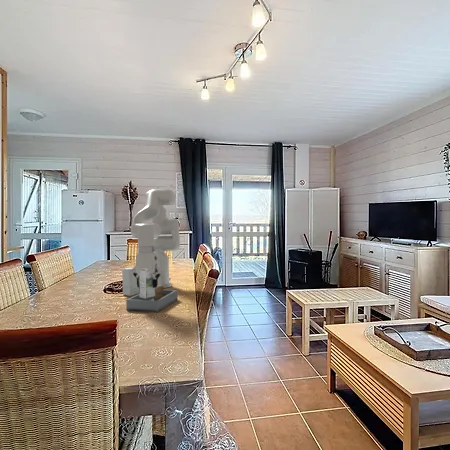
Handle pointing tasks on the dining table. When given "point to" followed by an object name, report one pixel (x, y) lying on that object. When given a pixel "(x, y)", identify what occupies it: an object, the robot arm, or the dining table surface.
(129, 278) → the skincare box
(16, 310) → the dining table surface
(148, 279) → the syrup box
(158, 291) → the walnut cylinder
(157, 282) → the robot arm
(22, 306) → the dining table surface
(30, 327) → the dining table surface
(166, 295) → the tray
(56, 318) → the dining table surface
